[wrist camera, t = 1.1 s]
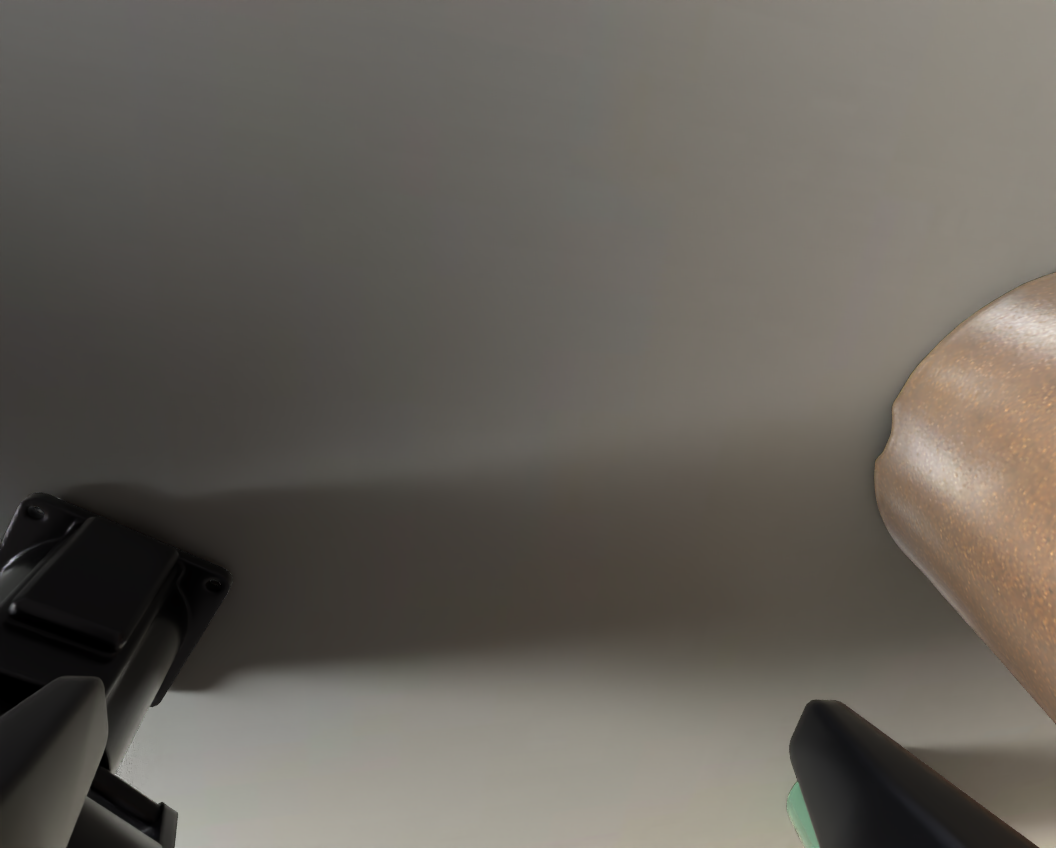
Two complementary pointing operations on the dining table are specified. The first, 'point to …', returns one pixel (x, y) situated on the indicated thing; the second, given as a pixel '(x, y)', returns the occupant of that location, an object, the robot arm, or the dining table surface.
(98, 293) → the dining table surface
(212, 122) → the dining table surface
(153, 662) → the robot arm
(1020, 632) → the plant pot
